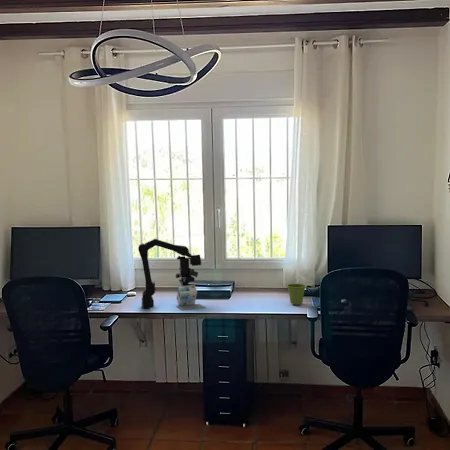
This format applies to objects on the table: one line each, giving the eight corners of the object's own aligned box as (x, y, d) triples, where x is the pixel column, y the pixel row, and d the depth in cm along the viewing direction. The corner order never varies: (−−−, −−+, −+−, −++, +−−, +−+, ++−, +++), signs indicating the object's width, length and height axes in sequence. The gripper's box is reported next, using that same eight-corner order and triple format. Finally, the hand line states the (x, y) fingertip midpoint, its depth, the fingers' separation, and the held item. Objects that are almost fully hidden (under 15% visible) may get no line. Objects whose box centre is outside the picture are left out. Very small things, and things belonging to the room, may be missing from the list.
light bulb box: (178, 306, 321) (181, 293, 314) (176, 298, 326) (178, 285, 319) (195, 304, 325) (197, 291, 318) (192, 296, 330) (194, 284, 323)
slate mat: (182, 310, 309) (182, 310, 309) (176, 306, 319) (176, 306, 319) (205, 307, 315) (205, 307, 315) (199, 304, 325) (199, 303, 325)
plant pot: (290, 306, 313) (290, 287, 313) (284, 302, 325) (284, 284, 324) (309, 304, 316) (309, 286, 315) (302, 300, 327) (302, 283, 326)
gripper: (202, 267, 318) (202, 292, 319) (191, 263, 335) (192, 287, 336) (185, 268, 314) (185, 294, 315) (174, 264, 331) (175, 289, 332)
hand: (185, 291), depth 325 cm, fingers closed
